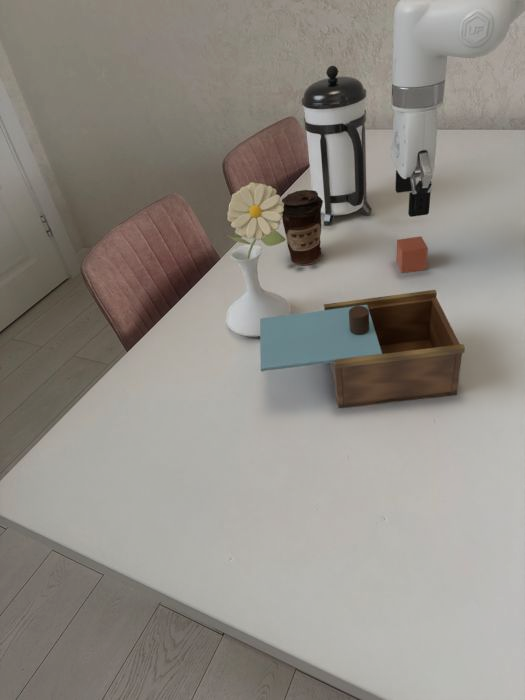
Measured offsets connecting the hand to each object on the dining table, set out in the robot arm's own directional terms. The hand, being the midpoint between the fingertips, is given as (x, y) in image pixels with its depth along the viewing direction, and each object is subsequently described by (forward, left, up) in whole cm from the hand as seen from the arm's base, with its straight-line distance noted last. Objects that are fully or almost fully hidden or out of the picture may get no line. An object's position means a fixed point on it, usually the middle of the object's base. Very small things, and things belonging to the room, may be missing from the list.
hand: (411, 202), depth 85 cm
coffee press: (+9, -26, -13) cm, 30 cm away
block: (0, 0, -12) cm, 12 cm away
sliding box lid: (+19, +28, -4) cm, 34 cm away
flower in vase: (+28, +12, -13) cm, 33 cm away
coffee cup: (+19, -8, -13) cm, 24 cm away
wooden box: (+10, +28, -12) cm, 32 cm away
